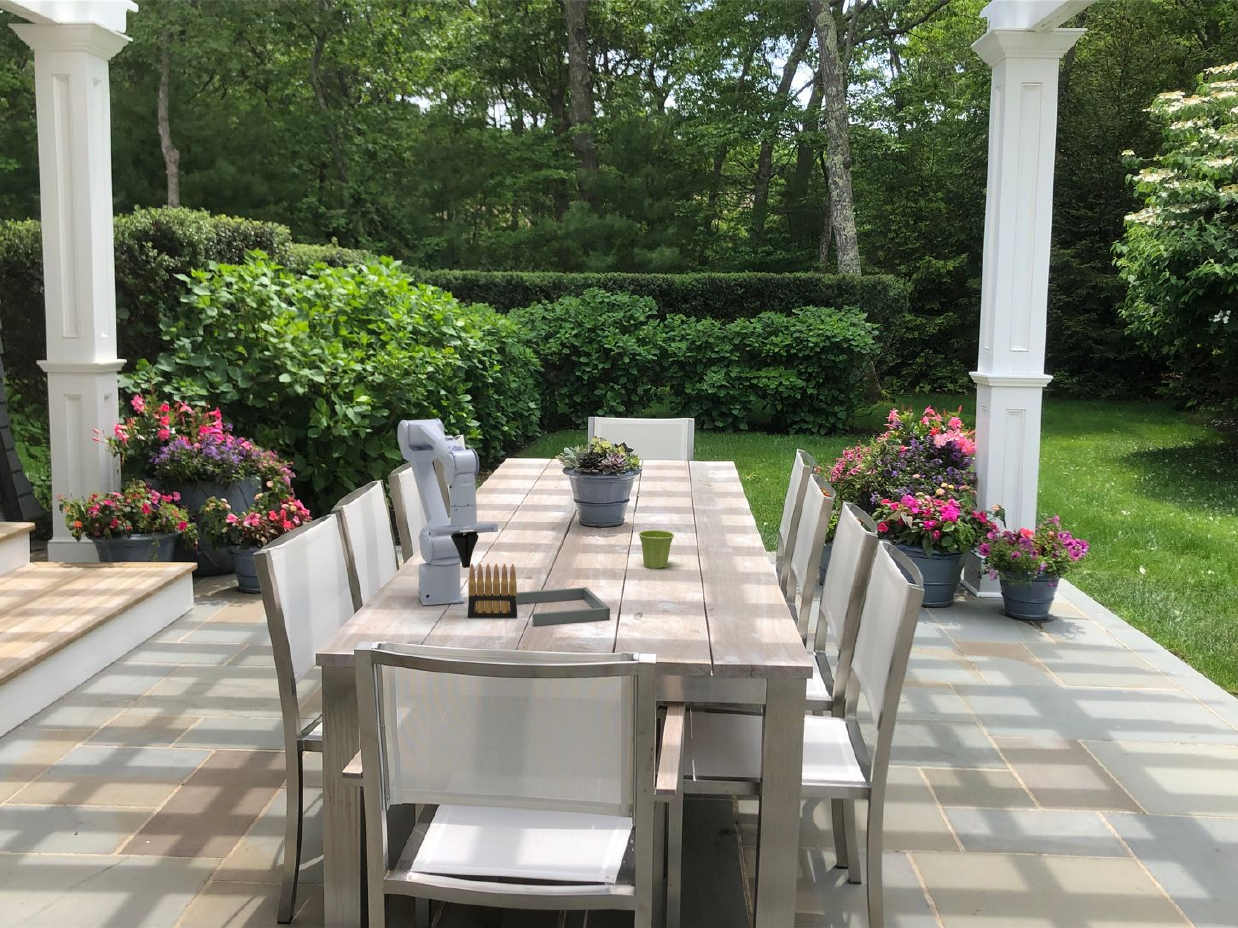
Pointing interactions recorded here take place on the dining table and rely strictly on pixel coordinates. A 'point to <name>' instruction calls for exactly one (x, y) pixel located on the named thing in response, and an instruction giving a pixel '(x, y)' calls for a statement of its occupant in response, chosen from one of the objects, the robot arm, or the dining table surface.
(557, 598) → the frame
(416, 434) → the robot arm
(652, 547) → the plant pot
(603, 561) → the dining table surface
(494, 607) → the ammunition clip
